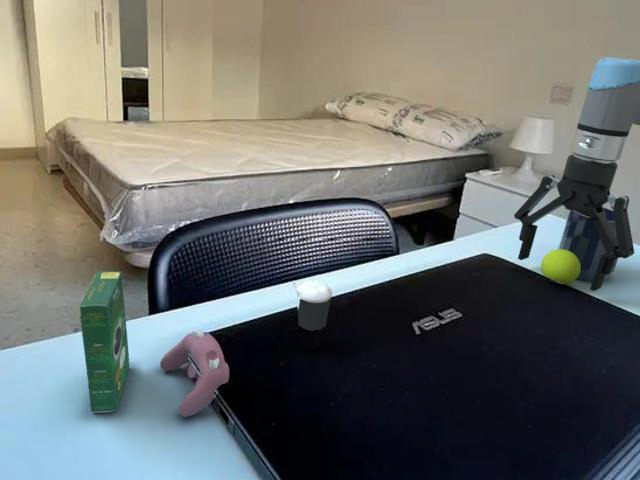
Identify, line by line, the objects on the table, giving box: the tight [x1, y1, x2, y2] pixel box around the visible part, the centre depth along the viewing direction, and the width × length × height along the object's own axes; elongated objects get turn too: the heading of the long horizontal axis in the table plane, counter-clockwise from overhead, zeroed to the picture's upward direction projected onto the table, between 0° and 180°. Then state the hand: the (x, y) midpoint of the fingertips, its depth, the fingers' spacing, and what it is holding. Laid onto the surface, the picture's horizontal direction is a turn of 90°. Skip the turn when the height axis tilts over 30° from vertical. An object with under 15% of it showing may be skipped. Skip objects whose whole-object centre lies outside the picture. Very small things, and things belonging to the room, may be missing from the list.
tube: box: [557, 206, 618, 283], centre depth 95 cm, size 9×9×12 cm
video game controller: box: [159, 330, 230, 418], centre depth 57 cm, size 10×5×7 cm, turn 30°
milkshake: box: [291, 279, 333, 331], centre depth 65 cm, size 4×5×10 cm
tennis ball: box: [540, 248, 580, 286], centre depth 90 cm, size 6×6×6 cm
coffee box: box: [78, 270, 130, 414], centre depth 54 cm, size 8×3×13 cm, turn 10°
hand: (557, 272), depth 90 cm, fingers open, 13 cm apart
